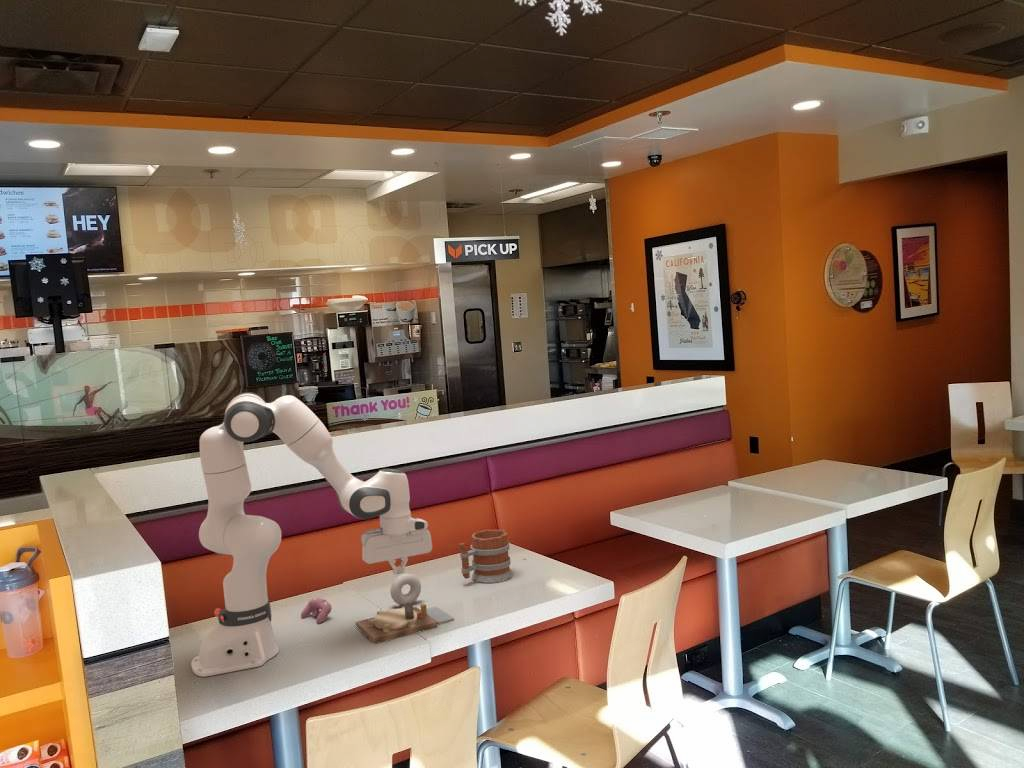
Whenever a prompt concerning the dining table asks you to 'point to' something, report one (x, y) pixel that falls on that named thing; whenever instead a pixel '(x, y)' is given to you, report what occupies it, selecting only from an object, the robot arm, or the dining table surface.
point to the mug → (487, 557)
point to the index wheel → (396, 618)
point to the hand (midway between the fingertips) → (398, 573)
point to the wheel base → (380, 635)
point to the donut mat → (439, 615)
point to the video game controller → (317, 609)
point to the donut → (399, 583)
